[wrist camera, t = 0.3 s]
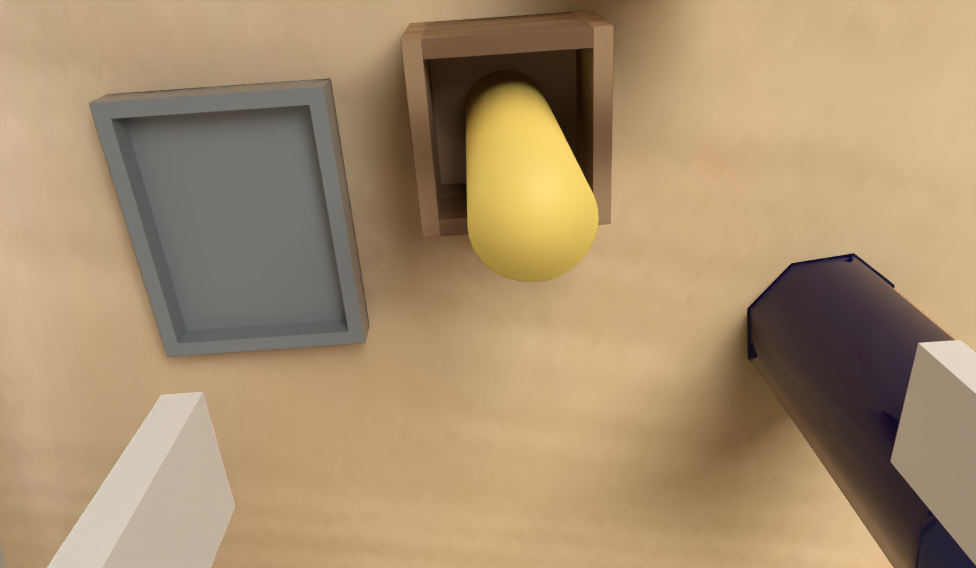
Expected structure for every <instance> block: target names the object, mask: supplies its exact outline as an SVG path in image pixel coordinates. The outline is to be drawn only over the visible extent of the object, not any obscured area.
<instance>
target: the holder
mask: <svg viewBox="0 0 976 568" xmlns="http://www.w3.org/2000/svg"><path fill="white" fill-rule="evenodd" d="M613 31H614V26H613V25H612V24H610V23H609V22H607V21H605V20H604V19H602V18H600V17H599V16H597V15H596V14H594V13H592V12H591V11H580V12H566V13H551V14H537V15H523V16H509V17H494V18H480V19H466V20H451V21H437V22H423V23H410V25H409V27H408V29H407V30H406V32H405V34H404V36H403V38H402V39H401V46H402V55H403V64H404V73H405V82H406V91H407V100H408V109H409V118H410V127H411V136H412V145H413V154H414V162H415V171H416V180H417V189H418V198H419V207H420V216H421V225H422V234H423V237H435V236H449V235H463V234H468V226H467V173H466V121H465V108H466V102H467V98H468V96H469V93H470V92H471V90H472V88H473V87H474V85H475V84H476V83H477V82H478V81H479V80H480V79H482V78H483V77H485V76H486V75H488V74H490V73H493V72H496V71H501V70H513V71H517V72H520V73H523V74H525V75H527V76H528V77H530V78H531V79H532V80H534V82H535V83H536V84H537V85H538V86H539V88H540V89H541V91H542V93H543V95H544V97H545V99H546V101H547V103H548V105H549V107H550V109H551V111H552V113H553V115H554V117H555V119H556V121H557V123H558V125H559V127H560V129H561V131H562V133H563V135H564V137H565V139H566V141H567V143H568V145H569V147H570V149H571V151H572V153H573V155H574V157H575V159H576V161H577V163H578V165H579V167H580V169H581V171H582V173H583V175H584V177H585V179H586V181H587V183H588V185H589V187H590V188H591V190H592V192H593V194H594V197H595V200H596V203H597V208H598V217H599V220H598V225H605V224H611V163H612V97H613Z"/></svg>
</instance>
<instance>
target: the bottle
mask: <svg viewBox="0 0 976 568" xmlns="http://www.w3.org/2000/svg"><path fill="white" fill-rule="evenodd" d="M894 286H895V285H894V284H892V283H891V282H890V281H889V280H887V279H886V278H885V277H884V276H882V275H881V274H880V273H878V272H877V271H876V270H875V269H873V268H872V267H871V266H870V265H868V264H867V263H866V262H864V261H863V260H862V259H861V258H859V257H858V256H857V255H855V254H854V253H853V254H847V255H841V256H835V257H828V258H822V259H816V260H810V261H804V262H797V263H791V265H790V266H789V267H788V268H787V269H786V270H785V271H784V272H783V273H782V274H781V275H780V276H779V277H778V278H777V279H776V280H775V281H774V282H773V283H772V284H771V285H770V286H769V287H768V288H767V289H766V290H765V291H764V292H763V293H762V294H761V295H760V296H759V297H758V298H757V299H756V300H755V301H754V302H753V303H752V304H751V306H750V307H749V308H748V359H749V360H750V361H752V362H753V363H754V364H755V366H756V367H757V369H758V370H759V372H760V373H761V375H762V376H763V377H764V379H765V380H766V382H767V383H768V385H769V386H770V388H771V389H772V391H773V392H774V394H775V395H776V396H777V398H778V399H779V401H780V402H781V404H782V405H783V407H784V408H785V410H786V411H787V413H788V414H789V415H790V417H791V418H792V420H793V421H794V423H795V424H796V426H797V427H798V429H799V430H800V432H801V433H802V434H803V436H804V437H805V439H806V440H807V442H808V443H809V445H810V446H811V448H812V449H813V451H814V452H815V453H816V455H817V456H818V458H819V459H820V461H821V462H822V464H823V465H824V467H825V468H826V470H827V471H828V472H829V474H830V475H831V477H832V478H833V480H834V481H835V483H836V484H837V486H838V487H839V488H840V490H841V491H842V493H843V494H844V496H845V497H846V499H847V500H848V502H849V503H850V505H851V506H852V507H853V509H854V510H855V512H856V513H857V515H858V516H859V518H860V519H861V521H862V522H863V524H864V525H865V526H866V528H867V529H868V531H869V532H870V534H871V535H872V537H873V538H874V540H875V541H876V543H877V544H878V545H879V547H880V548H881V550H882V551H883V553H884V554H885V556H886V557H887V559H888V560H889V562H890V563H891V564H892V566H893V567H894V568H976V565H975V564H974V563H973V562H972V560H971V559H970V558H969V557H968V556H967V554H966V553H965V552H964V551H963V549H962V548H961V547H960V546H959V545H958V543H957V542H956V541H955V540H954V539H953V537H952V536H951V535H950V534H949V532H948V531H947V530H946V529H945V528H944V526H943V525H942V524H941V523H940V521H939V520H938V519H937V518H936V517H935V515H934V514H933V513H932V512H931V511H930V509H929V508H928V507H927V506H926V504H925V503H924V502H923V501H922V500H921V498H920V497H919V496H918V495H917V493H916V492H915V491H914V490H913V489H912V487H911V486H910V485H909V484H908V482H907V481H906V480H905V479H904V478H903V476H902V475H901V474H900V473H899V472H898V470H897V469H896V468H895V467H894V465H893V464H892V463H891V462H890V461H891V457H892V453H893V448H894V444H895V440H896V436H897V431H898V427H899V423H900V419H901V414H902V410H903V406H904V401H905V397H906V393H907V389H908V384H909V380H910V376H911V372H912V367H913V363H914V359H915V355H916V350H917V346H918V343H923V342H938V341H952V340H956V339H955V338H954V337H953V336H951V335H950V334H949V333H948V332H947V331H945V330H944V329H943V328H942V327H941V326H939V325H938V324H937V323H936V322H934V321H933V320H932V319H931V318H930V317H928V316H927V315H926V314H925V313H924V312H922V311H921V310H920V309H919V308H918V307H916V306H915V305H914V304H913V303H912V302H910V301H909V300H908V299H907V298H906V297H904V296H903V295H902V294H901V293H900V292H898V291H897V290H896V289H895V288H894Z"/></svg>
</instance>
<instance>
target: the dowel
mask: <svg viewBox="0 0 976 568" xmlns="http://www.w3.org/2000/svg"><path fill="white" fill-rule="evenodd" d="M465 121H466V173H467V226H468V234H469V238H470V241H471V244H472V246H473V249H474V251H475V252H476V254H477V255H478V257H479V258H480V259H481V260H482V262H483V263H484V264H485V265H486V266H488V267H489V268H490V269H491V270H493V271H494V272H496V273H498V274H499V275H501V276H503V277H506V278H509V279H512V280H516V281H523V282H538V281H545V280H549V279H552V278H555V277H557V276H560V275H562V274H564V273H566V272H567V271H569V270H570V269H572V268H573V267H574V266H576V265H577V264H578V263H579V262H580V261H581V260H582V259H583V258H584V257H585V255H586V254H587V252H588V251H589V250H590V248H591V246H592V244H593V242H594V239H595V236H596V233H597V229H598V220H599V217H598V208H597V203H596V200H595V197H594V194H593V192H592V190H591V188H590V187H589V185H588V183H587V181H586V179H585V177H584V175H583V173H582V171H581V169H580V167H579V165H578V163H577V161H576V159H575V157H574V155H573V153H572V151H571V149H570V147H569V145H568V143H567V141H566V139H565V137H564V135H563V133H562V131H561V129H560V127H559V125H558V123H557V121H556V119H555V117H554V115H553V113H552V111H551V109H550V107H549V105H548V103H547V101H546V99H545V97H544V95H543V93H542V91H541V89H540V88H539V86H538V85H537V84H536V83H535V82H534V80H532V79H531V78H530V77H528V76H527V75H525V74H523V73H520V72H517V71H513V70H501V71H496V72H493V73H490V74H488V75H486V76H485V77H483V78H482V79H480V80H479V81H478V82H477V83H476V84H475V85H474V87H473V88H472V90H471V92H470V93H469V96H468V98H467V102H466V108H465Z"/></svg>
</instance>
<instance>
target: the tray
mask: <svg viewBox="0 0 976 568" xmlns="http://www.w3.org/2000/svg"><path fill="white" fill-rule="evenodd" d="M89 105H90V109H91V112H92V115H93V118H94V122H95V125H96V128H97V131H98V135H99V138H100V141H101V144H102V148H103V151H104V154H105V157H106V161H107V164H108V167H109V170H110V173H111V177H112V180H113V183H114V186H115V190H116V193H117V196H118V199H119V203H120V206H121V209H122V212H123V216H124V219H125V222H126V225H127V229H128V232H129V235H130V238H131V241H132V245H133V248H134V251H135V254H136V258H137V261H138V264H139V267H140V271H141V274H142V277H143V280H144V284H145V287H146V290H147V293H148V297H149V300H150V303H151V306H152V309H153V313H154V316H155V319H156V322H157V326H158V329H159V332H160V335H161V339H162V342H163V345H164V348H165V352H166V355H167V357H175V356H189V355H203V354H217V353H231V352H246V351H260V350H274V349H288V348H302V347H316V346H330V345H345V344H359V343H365V341H366V337H367V333H368V329H369V320H368V314H367V307H366V301H365V295H364V288H363V282H362V275H361V269H360V263H359V256H358V250H357V244H356V237H355V231H354V224H353V218H352V212H351V205H350V199H349V193H348V186H347V180H346V173H345V167H344V161H343V154H342V148H341V142H340V135H339V129H338V122H337V116H336V110H335V103H334V97H333V91H332V84H331V79H318V80H303V81H289V82H275V83H261V84H246V85H232V86H218V87H203V88H189V89H175V90H161V91H146V92H132V93H118V94H107V95H105V96H103V97H101V98H98V99H96V100H94V101H92V102H90V103H89Z"/></svg>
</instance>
